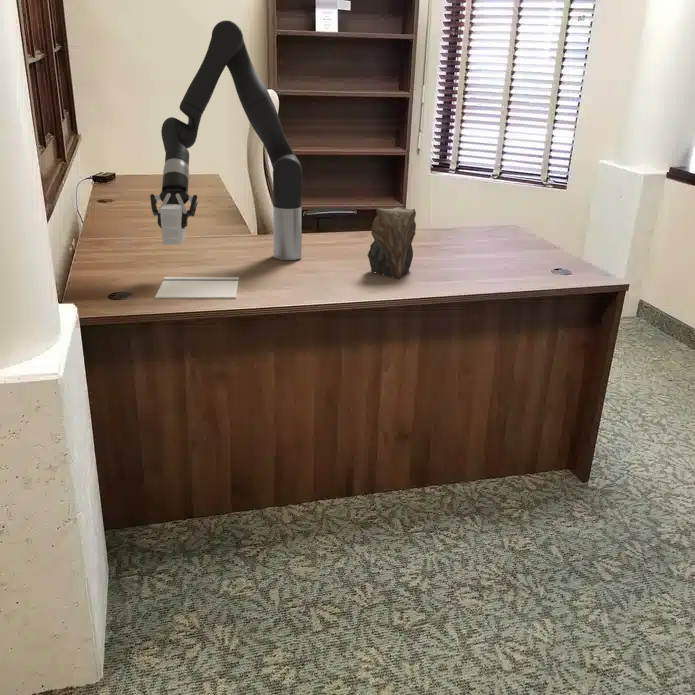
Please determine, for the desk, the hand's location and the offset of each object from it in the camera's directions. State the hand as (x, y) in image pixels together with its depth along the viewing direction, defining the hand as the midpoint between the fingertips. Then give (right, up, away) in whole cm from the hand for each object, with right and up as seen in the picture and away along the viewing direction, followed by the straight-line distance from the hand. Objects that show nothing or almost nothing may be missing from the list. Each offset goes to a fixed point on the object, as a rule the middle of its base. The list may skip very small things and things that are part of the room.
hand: (172, 226), depth 199 cm
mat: (+8, -18, 0) cm, 19 cm away
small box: (0, -4, +4) cm, 5 cm away
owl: (+65, -11, +20) cm, 69 cm away
